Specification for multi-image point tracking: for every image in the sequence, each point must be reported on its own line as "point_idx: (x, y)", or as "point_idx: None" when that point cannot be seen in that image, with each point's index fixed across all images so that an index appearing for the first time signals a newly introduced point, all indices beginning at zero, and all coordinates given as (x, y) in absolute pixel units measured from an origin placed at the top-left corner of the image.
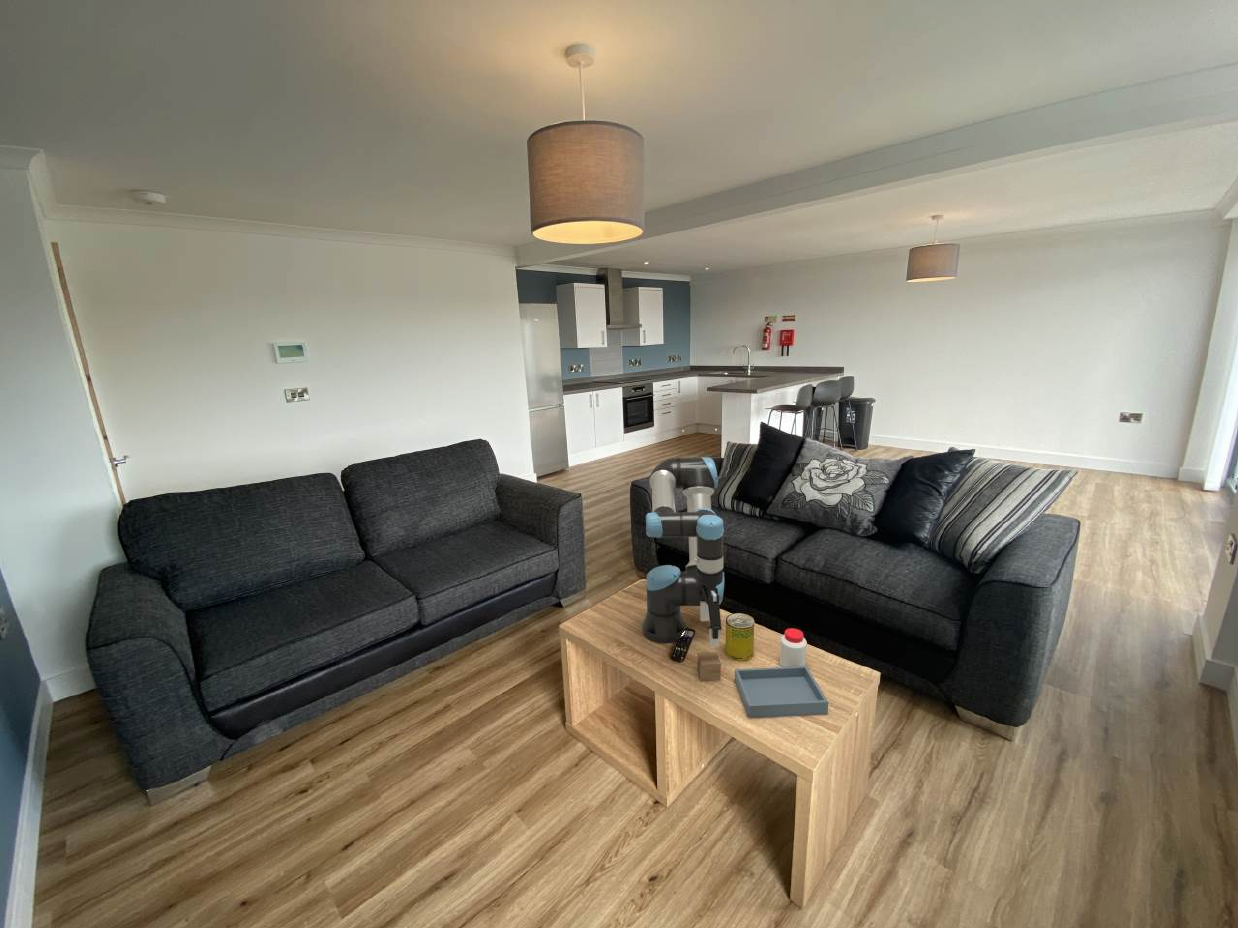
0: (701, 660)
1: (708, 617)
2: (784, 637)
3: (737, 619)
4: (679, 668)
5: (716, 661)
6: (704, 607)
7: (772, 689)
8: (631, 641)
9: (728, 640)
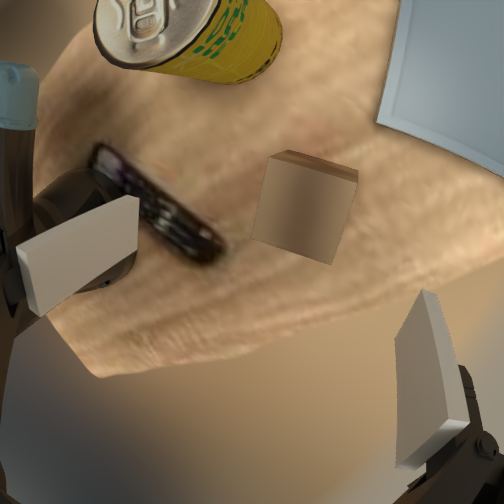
0: (306, 249)
1: (123, 212)
2: None
3: (137, 8)
4: (253, 265)
5: (336, 194)
6: (67, 271)
7: (465, 42)
8: (126, 315)
9: (210, 73)
